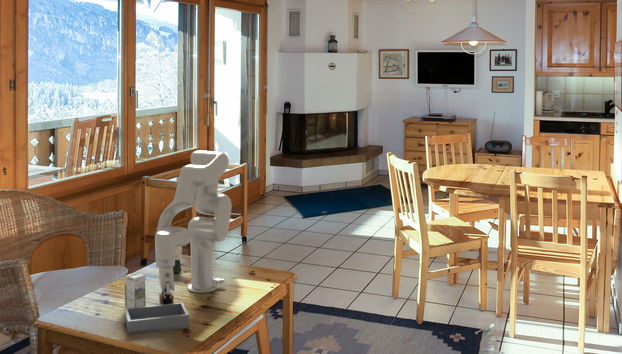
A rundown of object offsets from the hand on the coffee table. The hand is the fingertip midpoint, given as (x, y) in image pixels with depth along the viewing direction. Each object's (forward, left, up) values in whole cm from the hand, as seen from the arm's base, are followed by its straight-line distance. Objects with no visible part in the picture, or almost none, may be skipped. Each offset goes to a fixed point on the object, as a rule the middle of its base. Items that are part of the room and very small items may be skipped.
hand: (166, 305), depth 285 cm
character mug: (-10, -45, -1) cm, 46 cm away
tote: (+6, +18, -1) cm, 19 cm away
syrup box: (+12, 0, -1) cm, 12 cm away
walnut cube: (0, 0, -1) cm, 1 cm away
